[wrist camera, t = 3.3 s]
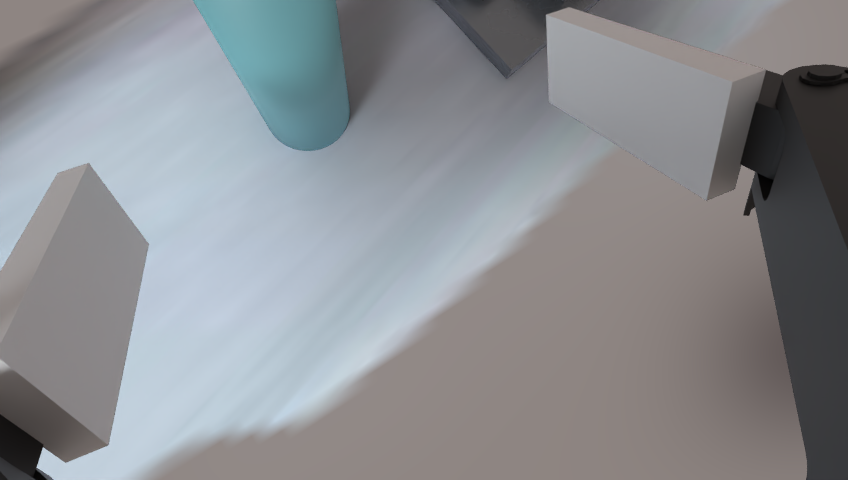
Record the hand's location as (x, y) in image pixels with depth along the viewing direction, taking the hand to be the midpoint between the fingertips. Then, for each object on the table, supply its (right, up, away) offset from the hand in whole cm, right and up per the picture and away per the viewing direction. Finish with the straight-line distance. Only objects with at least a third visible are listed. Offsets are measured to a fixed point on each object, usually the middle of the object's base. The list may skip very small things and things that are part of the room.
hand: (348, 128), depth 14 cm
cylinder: (-4, +4, +11) cm, 13 cm away
